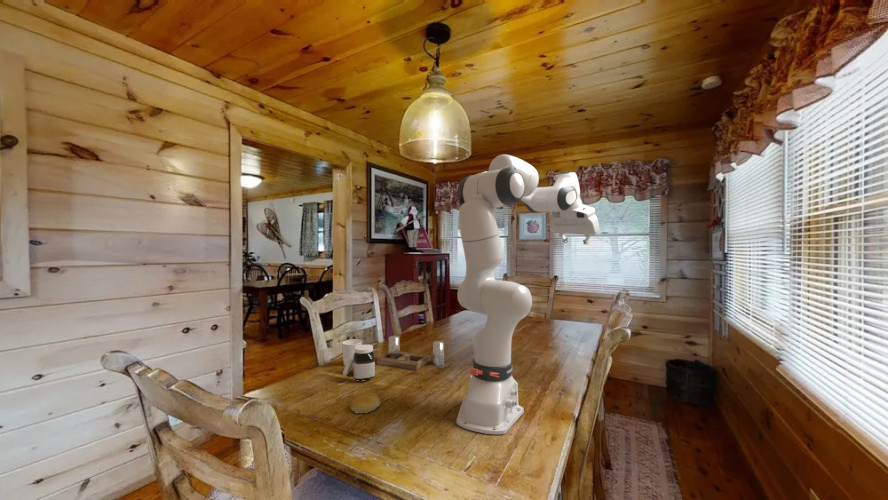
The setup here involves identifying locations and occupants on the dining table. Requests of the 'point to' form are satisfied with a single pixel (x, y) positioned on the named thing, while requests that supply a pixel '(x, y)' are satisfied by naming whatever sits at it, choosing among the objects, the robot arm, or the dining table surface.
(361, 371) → the spread jar
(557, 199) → the robot arm
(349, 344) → the white cup
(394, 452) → the dining table surface
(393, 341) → the cylinder
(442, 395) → the dining table surface
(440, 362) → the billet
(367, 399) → the bread roll
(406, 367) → the wooden divided tray
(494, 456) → the dining table surface
